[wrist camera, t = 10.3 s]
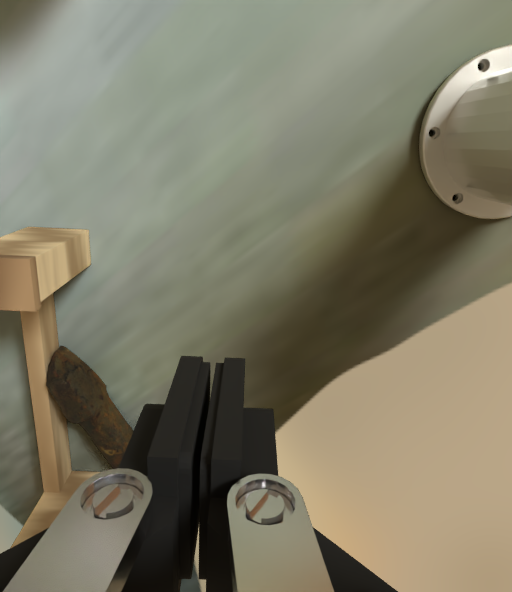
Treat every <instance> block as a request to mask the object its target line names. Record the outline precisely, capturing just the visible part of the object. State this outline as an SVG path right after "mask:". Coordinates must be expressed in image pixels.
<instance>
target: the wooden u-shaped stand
mask: <svg viewBox="0 0 512 592" xmlns="http://www.w3.org/2000/svg"><path fill="white" fill-rule="evenodd" d="M89 265H91V256H90V243H89V230H84V229H63V228H43V227H27V228H24V229H21V230H19V231H16V232H13V233H11V234H8V235H5V236H3V237H0V310H11V311H20V314H21V322H22V329H23V337H24V345H25V352H26V360H27V367H28V375H29V383H30V390H31V398H32V405H33V413H34V421H35V428H36V436H37V444H38V451H39V459H40V466H41V474H42V482H43V489H44V493H43V495H42V496H41V498H40V500H39V501H38V503H37V505H36V506H35V508H34V510H33V511H32V513H31V515H30V516H29V518H28V520H27V521H26V523H25V525H24V526H23V528H22V530H21V532H20V533H19V535H18V537H17V538H16V540H15V541H14V543H13V545H12V546H11V548H12V547H14V546H16V545H18V544H19V543H21V542H23V541H25V540H27V539H29V538H30V537H32V536H34V535H36V534H38V533H40V532H41V531H43V530H45V529H47V528H49V527H50V525H51V524H52V523H53V521H54V520H55V519H56V517H57V516H58V514H59V513H60V512H61V510H62V509H63V507H64V506H65V505H66V503H67V502H68V500H69V499H70V498H71V496H72V495H73V494H74V492H75V491H76V489H77V488H78V487H79V486H80V485H81V484H82V483H83V482H84V481H86V480H87V479H89V478H90V477H92V476H93V475H95V474H98V473H100V472H88V471H72V468H71V458H70V449H69V439H68V429H67V420H66V417H65V416H64V415H63V413H62V411H61V409H60V407H59V405H58V404H57V402H56V400H55V399H54V397H53V396H52V395H51V393H50V391H49V389H48V387H47V386H46V377H47V373H48V365H49V363H50V361H51V359H52V356H53V354H54V352H55V351H56V350H57V349H58V348H59V343H58V333H57V324H56V314H55V304H54V295H53V292H55V291H56V290H57V289H59V288H60V287H61V286H63V285H64V284H65V283H67V282H68V281H69V280H71V279H72V278H73V277H75V276H76V275H77V274H79V273H80V272H81V271H83V270H84V269H85V268H87V267H88V266H89Z"/></svg>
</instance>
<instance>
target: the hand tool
mask: <svg viewBox="0 0 512 592" xmlns="http://www.w3.org/2000/svg"><path fill="white" fill-rule="evenodd" d="M46 386H47V387H48V389H49V391H50V393H51V395H52V396H53V397H54V399H55V400H56V402H57V404H58V405H59V407H60V409H61V411H62V413H63V415H64V416H65V417H66V418H67V419H68V420H69V421H70V422H72V423H79V424H80V425H81V426H82V427H83V428H84V430H85V431H86V432H87V433H88V435H89V436H90V437H91V439H92V441H93V442H94V444H95V445H96V446H97V448H98V449H99V450H100V452H101V453H102V454H103V455H104V457H105V459H106V460H107V461H108V463H109V464H110V465H111V467H112V468H113V469H117V468H118V467H119V465H120V463H121V460H122V458H123V455H124V453H125V451H126V448H127V446H128V443H129V441H130V439H131V436H132V434H133V430H132V428H131V427H130V425H129V424H128V423H127V422H126V421H125V419H124V418H123V416H122V415H121V414H120V412H119V411H118V409H117V408H116V406H115V405H114V404H113V402H112V401H111V399H110V398H109V396H108V393H107V391H106V385H105V384H104V382H103V381H102V380H101V379H100V378H99V376H98V375H97V374H96V373H95V372H94V371H93V370H92V369H91V368H90V367H89V366H88V365H87V364H85V363H84V362H83V361H82V360H81V359H80V358H78V357H77V356H76V355H75V354H74V353H72V352H71V351H70V350H68V349H67V348H66V347H64V346H60V347H59V348H58V349H57V350H56V351H55V352H54V354H53V356H52V359H51V361H50V363H49V365H48V373H47V377H46Z"/></svg>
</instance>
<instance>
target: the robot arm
mask: <svg viewBox="0 0 512 592" xmlns="http://www.w3.org/2000/svg"><path fill="white" fill-rule="evenodd" d="M478 64H480V65H481V69H480V70H479V69H478ZM430 130H432V131H433V135H432V136H431V137H430V136H429V131H430ZM419 156H420V162H421V168H422V171H423V173H424V176H425V179H426V181H427V183H428V185H429V186H430V188H431V189H432V191H433V192H434V194H435V195H436V196H437V197H438V198H439V199H440V200H441V201H442V202H443V203H444V204H446V205H447V206H449V207H451V208H452V209H454V210H455V211H458V212H460V213H463V214H465V215H469V216H473V217H477V218H483V219H498V218H505V217H511V216H512V45H506V46H503V47H499V48H495V49H491V50H489V51H486V52H484V53H482V54H479V55H477V56H476V57H474V58H472V59H470V60H469V61H467V62H465V63H464V64H462V65H461V66H460V67H459V68H458V69H456V70H455V71H454V72H453V73H452V74H451V75H449V77H448V78H447V79H446V80H445V81H444V83H443V84H442V85H441V86H440V87H439V89H438V90H437V92H436V93H435V95H434V97H433V98H432V100H431V102H430V104H429V106H428V108H427V111H426V113H425V116H424V119H423V122H422V127H421V131H420V136H419ZM454 194H455V195H456V198H455V199H454V200H452V197H453V195H454ZM244 377H245V359H241V358H225V360H224V363H216V368H215V374H214V380H213V386H212V392H211V398H210V363H208V362H203V357H195V356H181V358H180V361H179V364H178V367H177V370H176V373H175V376H174V379H173V382H172V385H171V388H170V391H169V394H168V397H167V400H166V403H165V405H164V404H145V406H144V407H143V410H142V412H141V414H140V417H139V419H138V422H137V424H136V426H135V429H134V431H133V434H132V436H131V439H130V441H129V443H128V446H127V448H126V451H125V453H124V455H123V458H122V460H121V463H120V465H119V467H118V468H117V469H111V470H106V471H103V472H100V473H98V474H95V475H93V476H92V477H90V478H89V479H87V480H86V481H84V482H83V483H82V484H81V485H80V486H79V487H78V488H77V489H76V491H75V492H74V494H73V495H72V496H71V498H70V499H69V500H68V502H67V503H66V505H65V506H64V507H63V509H62V510H61V512H60V513H59V514H58V516H57V517H56V519H55V520H54V521H53V523H52V524H51V525H50V527H49V528H47V529H45V530H43V531H41V532H40V533H38V534H36V535H34V536H32V537H30V538H29V539H27V540H25V541H23V542H21V543H19V544H18V545H16V546H14V547H12V548H10V549H8V550H7V551H5V552H3V553H1V554H0V592H180V586H181V580H182V579H191V576H192V570H193V562H194V555H195V548H196V541H197V534H198V527H199V579H206V592H398V591H396V590H395V589H394V588H392V587H391V586H390V585H388V584H387V583H386V582H384V581H383V580H382V579H380V578H379V577H378V576H376V575H375V574H374V573H373V572H371V571H370V570H369V569H367V568H366V567H365V566H363V565H362V564H361V563H359V562H358V561H357V560H355V559H354V558H353V557H351V556H350V555H349V554H348V553H346V552H345V551H344V550H342V549H341V548H339V547H338V546H337V545H336V544H334V543H333V542H332V541H330V540H329V539H327V538H326V537H325V536H324V535H323V534H321V533H320V532H319V531H317V530H316V529H315V528H313V527H312V524H311V521H310V518H309V515H308V512H307V509H306V506H305V503H304V501H303V497H302V495H301V494H300V492H299V490H298V489H297V488H296V487H295V486H294V485H293V484H292V483H291V482H290V481H287V480H285V479H284V478H282V477H279V476H278V467H277V453H276V440H275V426H274V413H273V409H263V408H243V404H244Z"/></svg>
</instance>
